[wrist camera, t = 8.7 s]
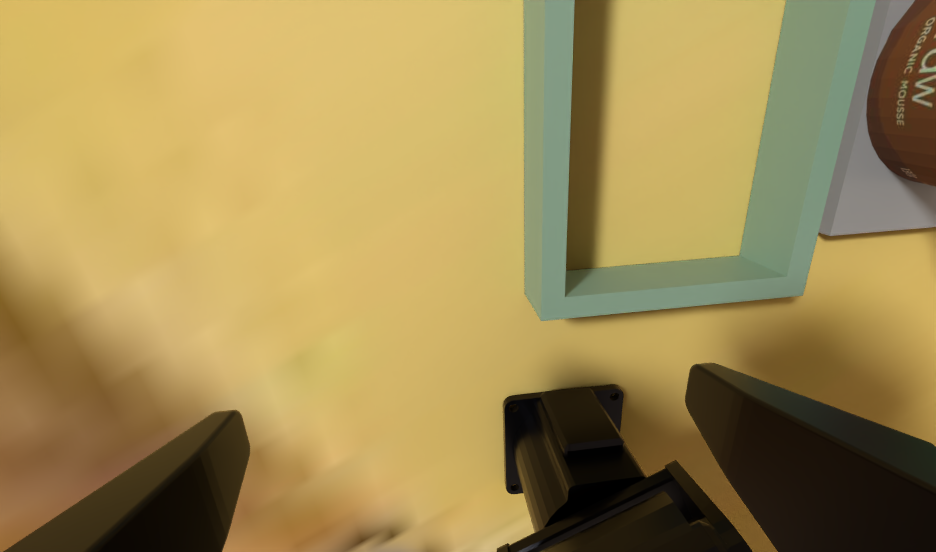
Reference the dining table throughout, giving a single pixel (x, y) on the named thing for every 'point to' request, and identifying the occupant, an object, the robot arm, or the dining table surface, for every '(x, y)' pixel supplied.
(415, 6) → the dining table surface
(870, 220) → the slate tile
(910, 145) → the food container
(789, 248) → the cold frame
